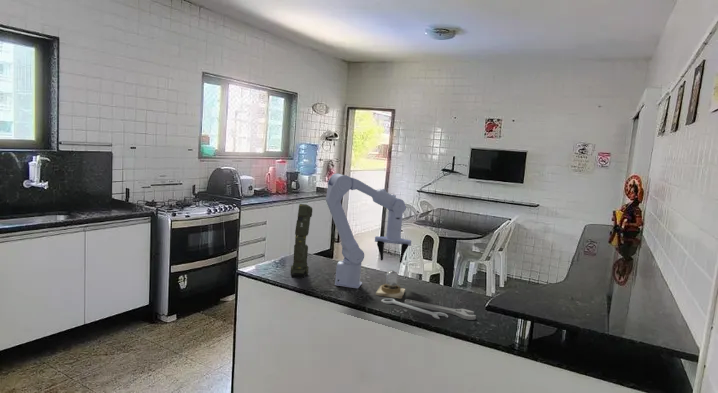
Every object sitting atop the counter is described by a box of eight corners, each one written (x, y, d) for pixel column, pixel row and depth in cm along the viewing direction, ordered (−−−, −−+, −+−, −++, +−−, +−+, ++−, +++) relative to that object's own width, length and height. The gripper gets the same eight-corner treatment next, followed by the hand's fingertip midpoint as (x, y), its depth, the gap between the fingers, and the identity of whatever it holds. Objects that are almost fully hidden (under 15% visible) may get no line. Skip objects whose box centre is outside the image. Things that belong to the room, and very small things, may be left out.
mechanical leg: (305, 278, 180) (312, 203, 184) (287, 277, 180) (294, 201, 185) (309, 277, 194) (315, 207, 198) (292, 276, 194) (298, 205, 198)
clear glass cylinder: (384, 291, 173) (385, 271, 172) (387, 288, 176) (388, 269, 175) (394, 292, 171) (395, 273, 170) (397, 290, 175) (398, 270, 174)
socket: (375, 295, 170) (376, 288, 170) (380, 287, 180) (381, 281, 179) (401, 298, 168) (402, 292, 168) (404, 291, 178) (405, 285, 177)
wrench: (443, 323, 150) (450, 318, 154) (444, 318, 150) (450, 314, 154) (378, 302, 163) (385, 299, 168) (378, 298, 163) (386, 295, 168)
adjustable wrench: (403, 305, 163) (403, 300, 163) (409, 300, 169) (410, 295, 169) (472, 322, 152) (473, 316, 151) (477, 316, 157) (478, 311, 157)
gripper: (374, 227, 181) (372, 261, 183) (411, 231, 179) (408, 265, 180) (377, 224, 188) (374, 257, 189) (412, 228, 186) (409, 261, 187)
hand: (391, 261), depth 185 cm, fingers open, 7 cm apart
